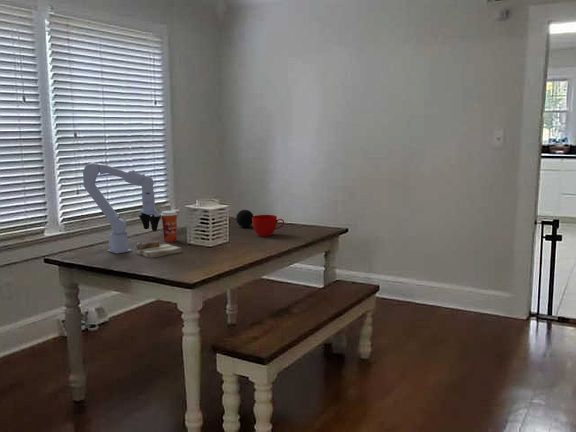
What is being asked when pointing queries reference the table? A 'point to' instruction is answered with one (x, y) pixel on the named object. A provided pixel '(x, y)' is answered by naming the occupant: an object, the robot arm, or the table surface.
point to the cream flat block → (159, 250)
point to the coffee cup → (169, 225)
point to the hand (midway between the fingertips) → (150, 229)
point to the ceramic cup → (265, 224)
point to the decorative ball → (244, 218)
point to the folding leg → (147, 245)
